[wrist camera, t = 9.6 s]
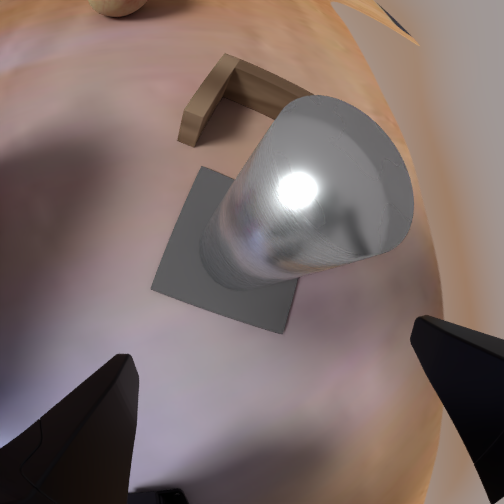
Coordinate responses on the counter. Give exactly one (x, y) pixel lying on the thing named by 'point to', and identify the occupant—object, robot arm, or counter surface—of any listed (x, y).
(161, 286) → the rubber mat
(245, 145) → the counter surface
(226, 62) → the walnut rack
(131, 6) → the apple
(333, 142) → the steel tin
